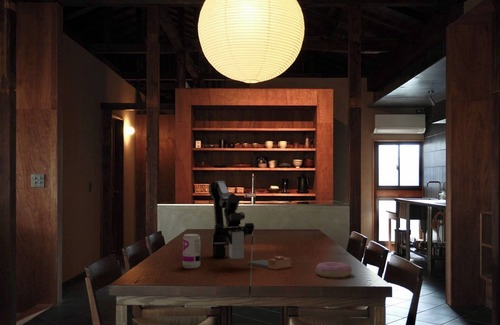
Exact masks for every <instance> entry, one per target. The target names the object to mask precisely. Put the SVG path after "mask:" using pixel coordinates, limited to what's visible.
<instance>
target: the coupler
mask: <svg viewBox="0 0 500 325" xmlns="http://www.w3.org/2000/svg"><path fill="white" fill-rule="evenodd" d="M291 261H292V258H290V257H285V256H282V255H275V256H274V258H271V259H259V260H258V259H257V260H251V261H247V265H248V264H249V266H253V265H255V267H260V268H264V267H265V269H269V268H270V269H271V270H275V271H276V270H282V269H287V268H291V267H292V262H291Z"/></svg>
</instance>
